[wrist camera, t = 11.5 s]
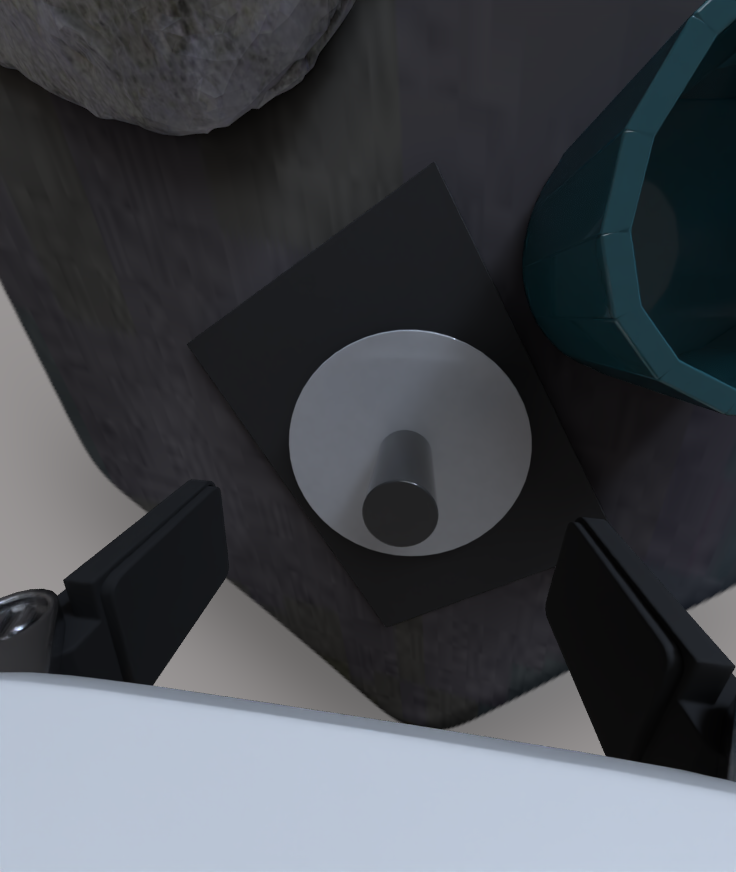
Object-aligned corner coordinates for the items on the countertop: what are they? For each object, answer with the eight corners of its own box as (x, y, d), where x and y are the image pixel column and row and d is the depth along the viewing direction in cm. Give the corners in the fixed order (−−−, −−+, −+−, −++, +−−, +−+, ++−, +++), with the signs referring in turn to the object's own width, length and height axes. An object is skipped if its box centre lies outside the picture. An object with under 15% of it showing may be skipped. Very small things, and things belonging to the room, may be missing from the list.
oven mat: (193, 343, 19) (186, 344, 18) (434, 166, 15) (434, 160, 15) (386, 620, 23) (386, 627, 23) (612, 536, 19) (618, 543, 19)
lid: (293, 322, 17) (222, 328, 11) (547, 335, 16) (631, 351, 10) (297, 530, 21) (247, 623, 15) (503, 554, 20) (542, 667, 14)
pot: (550, 85, 14) (687, -150, 7) (867, 80, 13) (1428, -209, 6) (503, 366, 17) (561, 403, 10) (748, 381, 16) (1003, 436, 9)
